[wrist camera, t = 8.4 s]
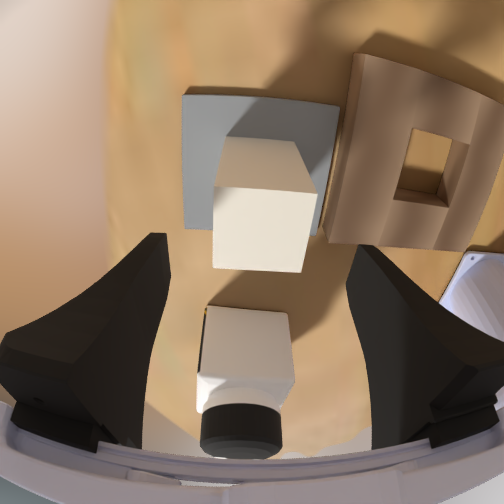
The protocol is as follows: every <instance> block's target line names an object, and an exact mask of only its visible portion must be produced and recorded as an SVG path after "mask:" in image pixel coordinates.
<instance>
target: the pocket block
mask: <svg viewBox="0 0 504 504" xmlns="http://www.w3.org/2000/svg"><path fill="white" fill-rule="evenodd" d="M412 128H414V129H418V130H422V131H425V132H429V133H433V134H436V135H440V136H443V137H447V138H450V139H453V141H452V145H451V148H450V152H449V155H448V159H447V162H446V165H445V169H444V172H443V175H442V178H441V181H440V185H439V188H438V191H437V194H430V193H424V192H418V191H412V190H406V189H399V188H396V187H397V184H398V180H399V177H400V173H401V169H402V166H403V162H404V158H405V154H406V150H407V146H408V142H409V138H410V134H411V129H412ZM503 154H504V105H503V104H501V103H499V102H497V101H495V100H493V99H491V98H489V97H486V96H484V95H482V94H480V93H478V92H476V91H473V90H471V89H469V88H467V87H464V86H462V85H459V84H457V83H455V82H452V81H450V80H447V79H444V78H442V77H439V76H436V75H434V74H431V73H428V72H425V71H422V70H419V69H416V68H413V67H410V66H407V65H404V64H401V63H397V62H394V61H390V60H387V59H383V58H379V57H376V56H372V55H368V54H360V53H354V55H353V63H352V70H351V77H350V84H349V90H348V97H347V103H346V109H345V115H344V121H343V127H342V133H341V138H340V144H339V149H338V155H337V160H336V165H335V170H334V175H333V180H332V185H331V190H330V195H329V200H328V204H327V209H326V214H325V218H324V223H323V229H324V232H325V234H326V237H327V240H328V243H337V244H353V245H359V244H365V245H374V246H384V247H399V248H413V249H427V250H441V251H454V252H465V251H466V249H467V247H468V245H469V242H470V240H471V238H472V236H473V234H474V231H475V229H476V227H477V225H478V222H479V220H480V217H481V215H482V213H483V210H484V208H485V205H486V203H487V200H488V198H489V195H490V192H491V190H492V187H493V184H494V181H495V178H496V175H497V172H498V169H499V166H500V163H501V160H502V157H503Z"/></svg>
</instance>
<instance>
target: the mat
mask: <svg viewBox="0 0 504 504" xmlns="http://www.w3.org/2000/svg"><path fill="white" fill-rule="evenodd" d="M339 112H340V107H339V106H335V105H329V104H323V103H315V102H308V101H300V100H291V99H282V98H271V97H259V96H243V95H220V94H183V95H182V174H183V203H184V225H185V229H199V230H213V204H214V184H215V179H216V175H217V171H218V166H219V162H220V158H221V153H222V149H223V145H224V141H225V137H226V136H230V137H246V138H260V139H272V140H283V141H293V142H295V144H296V147H297V149H298V151H299V153H300V155H301V157H302V160H303V162H304V164H305V166H306V168H307V171H308V173H309V175H310V177H311V180H312V182H313V184H314V186H315V189H316V191H317V193H318V195H317V200H316V205H315V210H314V215H313V220H312V224H311V229H310V234H309V236H316V233H317V228H318V223H319V219H320V214H321V209H322V204H323V200H324V195H325V190H326V185H327V179H328V174H329V169H330V164H331V158H332V153H333V147H334V142H335V136H336V130H337V124H338V118H339Z"/></svg>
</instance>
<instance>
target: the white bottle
mask: <svg viewBox="0 0 504 504" xmlns="http://www.w3.org/2000/svg"><path fill="white" fill-rule="evenodd" d="M294 383H295V374H294V365H293V356H292V347H291V338H290V330H289V322H288V315H287V314H286V313H283V312H271V311H260V310H249V309H239V308H229V307H220V306H210V305H209V306H206V308H205V312H204V320H203V328H202V336H201V345H200V354H199V362H198V371H197V411H198V412H199V413H202V422H201V436H200V447H201V448H202V449H203V451H204V452H205V453H207V454H209V455H211V456H213V457H215V458H220V459H251V460H264V459H267V458H269V457H271V456H273V455H275V454H277V453H278V452H279V451H280V450H281V448H282V446H283V445H282V429H281V414H280V408H281V406H282V405H283V403H284V401H285V399H286V398H287V396H288V394H289V392H290V390H291V388H292V387H293V385H294Z"/></svg>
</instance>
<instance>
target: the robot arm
mask: <svg viewBox="0 0 504 504" xmlns="http://www.w3.org/2000/svg"><path fill="white" fill-rule="evenodd" d="M170 279H171V271H170V263H169V253H168V244H167V234H166V233H150V234H149V235H147V236H146V237H145V238H144V239H143V240H142V241H141V242H140V243H139V244H138V245H137V246H136V247H135V248H134V249H133V250H132V251H131V252H130V253H129V254H128V255H127V256H125V257H124V258H123V259H122V260H121V261H120V262H119V263H118V264H117V265H116V266H115V267H113V268H112V269H111V270H110V271H109V272H108V273H107V274H105V275H104V276H103V277H102V278H101V279H100V280H98V281H97V282H96V283H94V284H93V285H92V286H91V287H89V288H88V289H86V290H85V291H84V292H82V293H81V294H80V295H78V296H77V297H75V298H73V299H72V300H70V301H69V302H67V303H65V304H64V305H62V306H61V307H59V308H58V309H56V310H54V311H52V312H51V313H49V314H47V315H45V316H43V317H41V318H39V319H38V320H35V321H33V322H31V323H29V324H27V325H24V326H22V327H19V328H17V329H15V330H13V331H10V332H7V333H6V334H5V336H4V338H3V340H2V342H1V344H0V384H1V385H2V386H3V387H4V388H5V389H6V390H7V391H8V392H9V394H10V395H11V396H12V397H13V398H14V399H15V400H16V401H17V402H16V404H15V407H14V408H13V407H11V406H10V405H8V404H6V403H4V402H2V401H0V476H1V477H3V478H5V479H6V480H8V481H10V482H12V483H14V484H16V485H18V486H20V487H22V488H24V489H26V490H28V491H31V492H33V493H35V494H37V495H40V496H42V497H44V498H47V499H49V500H52V501H54V502H57V503H59V504H438V503H440V502H443V501H445V500H448V499H450V498H452V497H454V496H457V495H459V494H462V493H464V492H466V491H468V490H470V489H472V488H474V487H476V486H479V485H480V484H482V483H485V482H487V481H488V480H490V479H492V478H494V477H496V476H498V475H499V474H501V473H503V472H504V254H501V253H489V252H477V251H467V252H466V253H465V254H464V256H463V258H462V260H461V262H460V264H459V266H458V268H457V270H456V272H455V274H454V276H453V278H452V280H451V281H450V283H449V285H448V287H447V289H446V290H445V292H444V294H443V296H442V298H441V299H440V301H439V303H438V302H437V301H435V300H434V299H433V298H432V297H430V296H429V295H428V294H427V293H426V292H425V291H423V290H422V289H421V288H420V287H419V286H418V285H417V284H415V283H414V282H413V281H412V280H411V279H410V278H409V277H408V276H407V275H406V274H405V273H403V272H402V271H401V270H400V269H399V268H398V267H397V266H396V265H395V264H394V263H393V262H392V261H391V260H390V259H389V258H388V257H386V256H385V255H384V254H383V253H382V252H381V251H380V250H379V249H377V248H376V247H375V246H374V245H365V244H359V245H358V248H357V251H356V254H355V257H354V260H353V264H352V267H351V270H350V273H349V275H348V278H347V281H346V290H347V296H348V302H349V307H350V310H351V314H352V317H353V320H354V324H355V327H356V330H357V333H358V337H359V340H360V343H361V347H362V350H363V354H364V358H365V362H366V369H367V375H368V382H369V391H370V401H371V418H372V450H369V451H364V452H357V453H349V454H342V455H333V456H324V457H311V458H296V459H266V460H251V459H220V458H205V457H193V456H184V455H174V454H167V453H160V452H153V451H147V450H142V427H143V412H144V401H145V392H146V384H147V376H148V369H149V363H150V357H151V352H152V348H153V344H154V341H155V337H156V334H157V331H158V327H159V324H160V321H161V317H162V314H163V311H164V307H165V304H166V300H167V296H168V291H169V285H170ZM175 479H177V480H175ZM179 480H186V481H196V482H209V483H227V484H239V485H233V486H230V487H206V486H205V487H204V486H182V485H181V482H180V481H179Z"/></svg>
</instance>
